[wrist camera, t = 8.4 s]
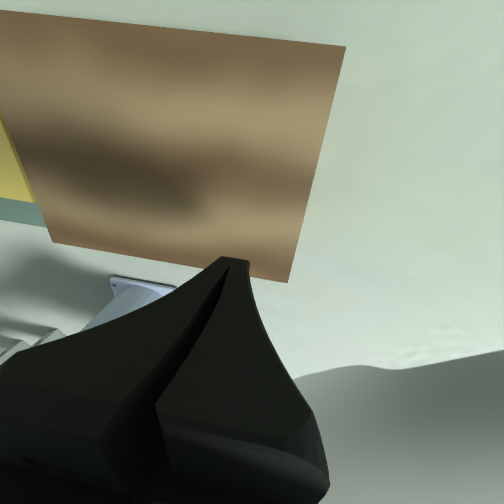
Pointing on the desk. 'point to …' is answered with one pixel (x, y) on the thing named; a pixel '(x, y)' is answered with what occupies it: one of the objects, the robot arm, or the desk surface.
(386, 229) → the desk surface
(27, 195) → the yellow rectangular block
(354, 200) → the desk surface
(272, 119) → the brown flat block
